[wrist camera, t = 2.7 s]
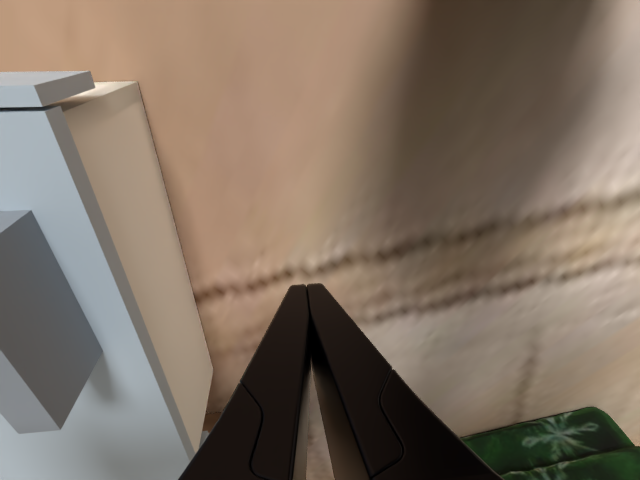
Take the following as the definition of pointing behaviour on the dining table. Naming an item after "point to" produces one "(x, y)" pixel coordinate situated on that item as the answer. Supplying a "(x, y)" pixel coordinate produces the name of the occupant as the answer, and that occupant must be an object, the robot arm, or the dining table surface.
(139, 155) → the box
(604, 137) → the dining table surface
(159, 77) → the dining table surface
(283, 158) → the dining table surface
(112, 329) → the lid
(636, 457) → the box
